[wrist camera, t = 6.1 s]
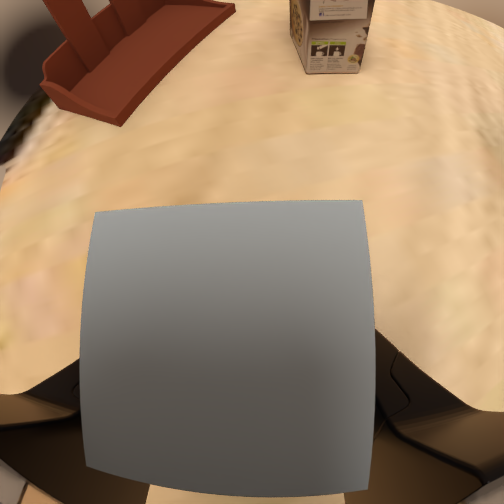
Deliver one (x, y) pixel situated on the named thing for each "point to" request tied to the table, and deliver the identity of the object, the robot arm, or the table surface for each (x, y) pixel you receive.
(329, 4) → the coffee box
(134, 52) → the hanging shelf
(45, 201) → the table surface
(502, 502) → the robot arm
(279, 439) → the peg
